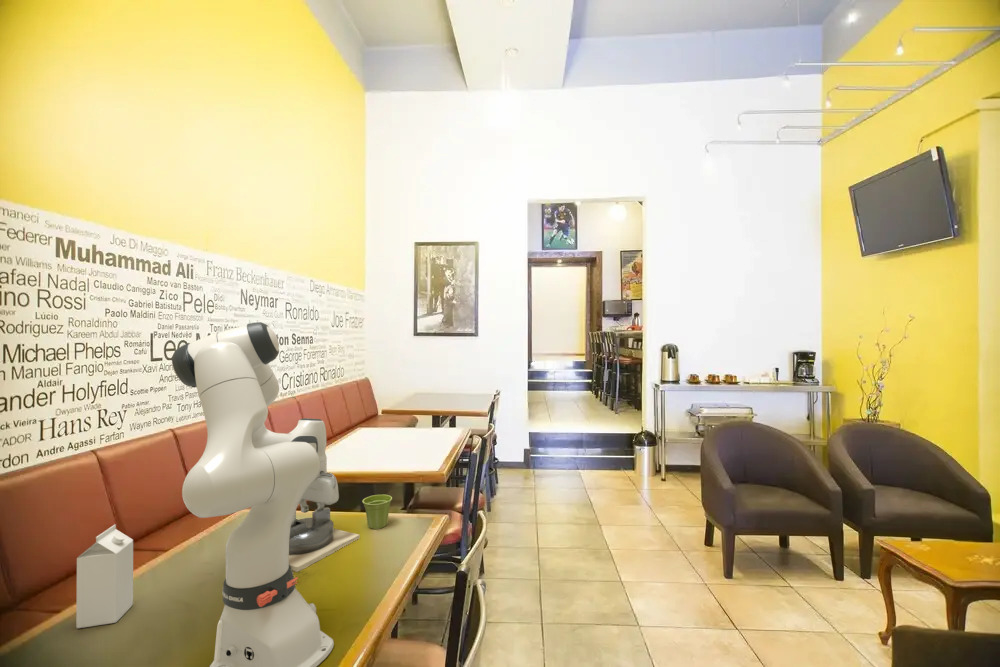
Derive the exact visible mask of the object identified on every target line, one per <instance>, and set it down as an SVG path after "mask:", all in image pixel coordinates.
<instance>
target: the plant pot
mask: <svg viewBox="0 0 1000 667" xmlns="http://www.w3.org/2000/svg"><path fill="white" fill-rule="evenodd" d="M392 500H393V497H392V496H391V495H388V494H375V495H370V496H367V497H365V498H363V499H362V501H361V502H362V504H363V507H364V508H365V514H366V515H365V516H366V521H367V528H369V529H373V530H379V529H383V528H384V527H386V526H387V525H388V521H389V520H388V519H389V511H390V505H391V502H392Z"/></svg>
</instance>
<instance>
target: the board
mask: <svg viewBox="0 0 1000 667" xmlns="http://www.w3.org/2000/svg"><path fill="white" fill-rule="evenodd" d="M360 537H361V536H360V534H358V533H354V532H350V531H346V530H341V529H338V528H334V527H333V540H332V541H331V542H330V543H329V544H327V545H326V546H324V547H322V548H320V549H317V550H314V551H311V552H306V553H301V554H289V564H290V566H291V569H292V571H294V572H297V573H298V572H300V571H302V570H304V569H306V568H308V567H309V566H312V565H313V564H315V563H317V562H319V561H321V560H323V559H325V558H326V556H327V557H328V556H330V555H332V554H334V553H336V552H338V551H339V549H340V548H342V547H343V548H345V547H347V546H349V545H351V544H352V543H351V542H353V541H355V540H356V541H358V540H360V539H361V538H360ZM359 538H360V539H359ZM357 539H358V540H357ZM356 541H355V542H356ZM350 543H351V544H350ZM353 543H354V542H353ZM348 544H349V545H348ZM346 545H347V546H346ZM344 546H345V547H344ZM343 548H342V549H343ZM337 550H338V551H337ZM340 550H341V549H340ZM335 551H336V552H335Z"/></svg>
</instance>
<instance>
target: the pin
mask: <svg viewBox="0 0 1000 667" xmlns="http://www.w3.org/2000/svg"><path fill="white" fill-rule="evenodd" d="M296 519H297V510H296V511H295V514H294V517H293V520H292V524H291V527H294V526H296Z"/></svg>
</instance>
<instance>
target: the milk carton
mask: <svg viewBox="0 0 1000 667" xmlns="http://www.w3.org/2000/svg"><path fill="white" fill-rule="evenodd" d="M116 526H117V524H115V523H114V524H113V525H112V526H110V527H109V528H107V529H106V530H104V531H103V532H102V533H100V534H98V535H97V536H95V542H94V543H93V544H91V546H89V548H87V549H86V550H85V551H84V552H82V553H81V554H80V555H78V557H77V558H76V616H75V617H76V621H75V622H76V624H75V625H76V626H75V627H76V629H81V628H82V629H83V628H90V627H96V626H103V625H109V624H115V623H117V622H118V621H119V620H121V618H122V617H123V616H124V615H125V614H126V613H127V612H128V611H129V610H130V608H131V607H132V606H134V539H133V538H131V537H130V536H128V535H126V534H124V533H123V532H121V531H120V530H118V529H117V527H116Z"/></svg>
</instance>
